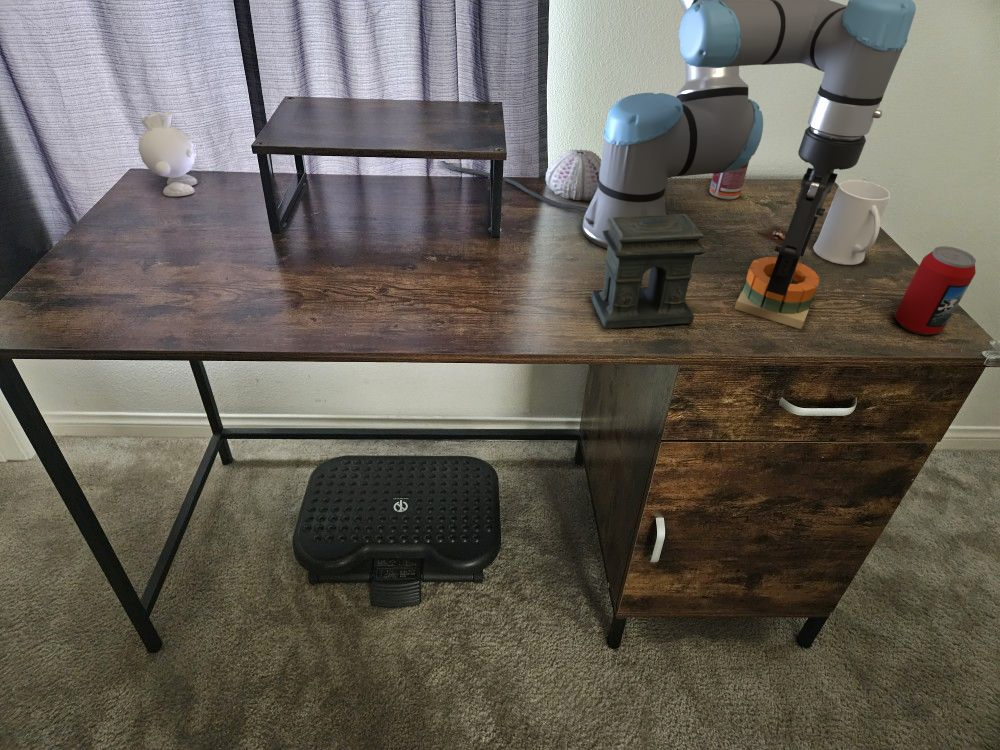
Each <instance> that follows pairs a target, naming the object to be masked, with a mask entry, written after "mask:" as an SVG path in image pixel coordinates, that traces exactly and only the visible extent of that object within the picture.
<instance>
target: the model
mask: <svg viewBox="0 0 1000 750" xmlns="http://www.w3.org/2000/svg"><path fill="white" fill-rule="evenodd" d="M607 222H608V223H609V225H610V230H605V231H602V233H603V235H604V238H605V240H606V241H607V243H608V249H607V252H606V257H605V259H604V264H605V271H604V277H603V285H602V289H600V290H593V291H592V292H591V298H590V299H591V302H592V304H593V306H594V308H595V311H596V313H597V315H598V318H599V320H600V322H601V324H602V327H603V328H604V329H617V328H637V327H655V326H665V325H666V326H667V325H679V324H680V325H681V324H692V323H693V322H694V319H695V315H694V313H693V311H692V310H691V308H690V306H689V305H688V304H687V302H686V296H687V291H688V287H689V282H690V281H691V280H692V278H693V275H692V268H693V263H694V261H695V258H696V256H703V255H704V254H706V253H707V249H706V247H704V246H703V244H702V243H701V242H700V241H699V240H703V239H704V238H705V235H704V234H703V233H702V231H701V230H700V229H699V228H698V227H697V225H696V224H695V223H694V222H693V220H691V218H690V217H689V216H688V215H687V214H685V213H682V214H680V213H678V214H666V215H657V216H635V217H613V218H610V219H608V220H607ZM649 270H650V271H649ZM647 271H649V277H648V283H647V286H644V287H642V283H643V277H644V274H645V273H646V272H647Z"/></svg>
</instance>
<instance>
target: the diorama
mask: <svg viewBox="0 0 1000 750" xmlns="http://www.w3.org/2000/svg"><path fill="white" fill-rule="evenodd" d="M786 233H787V232H785V231H783V230H781V227H777V228H775V229H772V230H769V231H767V232H763V233H761V235H762V236H764V237H766V238H768V239H770V240H772V241H773V242H775V243H777V244H779V245H781V246H782V244H783V241H784V238H785V236H786Z"/></svg>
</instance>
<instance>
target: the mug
mask: <svg viewBox="0 0 1000 750" xmlns="http://www.w3.org/2000/svg"><path fill="white" fill-rule="evenodd" d="M891 195H892V194H891V192H890V191H889V190H888V189H887V188H886V187H884V186H882V185H879V184H877V183H875V182H871V181H867V180H866V181H865V180H860V179H846V180H842V181H840V182H839V183H838V186H837V188H836V191H835V193H834V196H833V198H832V201H831V204H830V206H829V210H828V212H827V214H826V217H825V219H824V222H823V225H822V227H821V229H820V232H819V234H818V237H817V239H816V241H815V243H814V244H813V247H812V249H813V252H814V253H815V254H816V255H817V256H818V257H820V258H821V259H823V260H825V261H828V262H829V263H830V262H831V263H833V264H837V265H843V266H855V265H859V264H861V263H863V262H864V260H865V258H866V253H867V252H868V251H869V250H870V249H871V248H873V246H874V245H875V243H876V241H877V239H878V237H879V234H880V230H881V229H880V228H881V218H882V216H883V215H884V212H885V210H886V207H887V205H888V203H889V200H890V199H891Z"/></svg>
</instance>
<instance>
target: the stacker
mask: <svg viewBox="0 0 1000 750" xmlns="http://www.w3.org/2000/svg"><path fill="white" fill-rule="evenodd" d="M800 258H801V257H800ZM800 258H799V261H800ZM799 261H798V263H800V262H799ZM798 263H797V264H798ZM796 267H797V266H796ZM795 270H796V269H795ZM794 273H795V271H794ZM771 275H772V274H768V275H766V276H768V277H770V278H771ZM793 275H794V274H793ZM792 278H793V277H792ZM790 284H799V283H798V282H797V281H795V280H793V279H791V282H790ZM743 286H744V287H743V289H742V291H741V292H740V294H739V296H738V298H737V300H736V302H735V305H734V310H737V311H740V312H744V313H746V314H750V315H753V316H756V317H760V318H763V319H766V320H769V321H773V322H776V323H778V324H782V325H785V326H788V327H793V328H795V329H799V330H802V329H803V325H804V323H805V321H806V318H807V316H808V313H809V310H810V309H811V305H812V303H813V301H814V298H815V296H816V293H817V290H816V291H815V294H814V296H813V297H812V298H811V299H809V300H806V301H803V302H800V301H799V302H784V301H783V300H782V301H778V300H774V299H771V298H768V297H766V295H765V296H763V295H761V294H759V293H758V292H756V291H755V290H753V289H752V287H750V285H749V283H748V282H747V280H746V279H745V282H744V285H743Z"/></svg>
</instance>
